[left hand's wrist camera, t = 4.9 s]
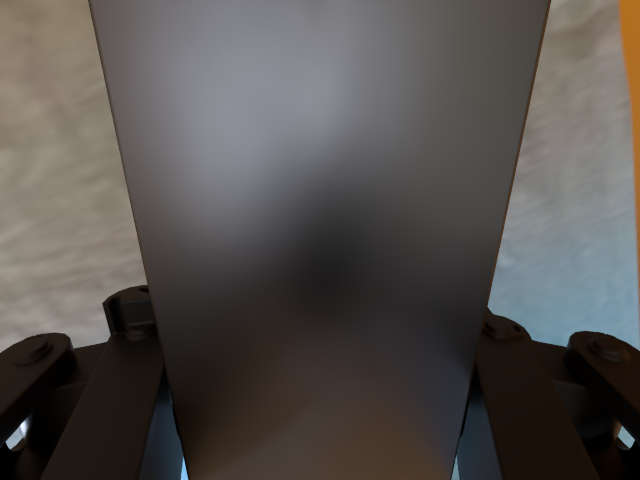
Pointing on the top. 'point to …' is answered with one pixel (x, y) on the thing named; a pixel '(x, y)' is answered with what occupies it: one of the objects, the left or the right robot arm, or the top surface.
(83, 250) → the top surface
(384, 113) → the bar
